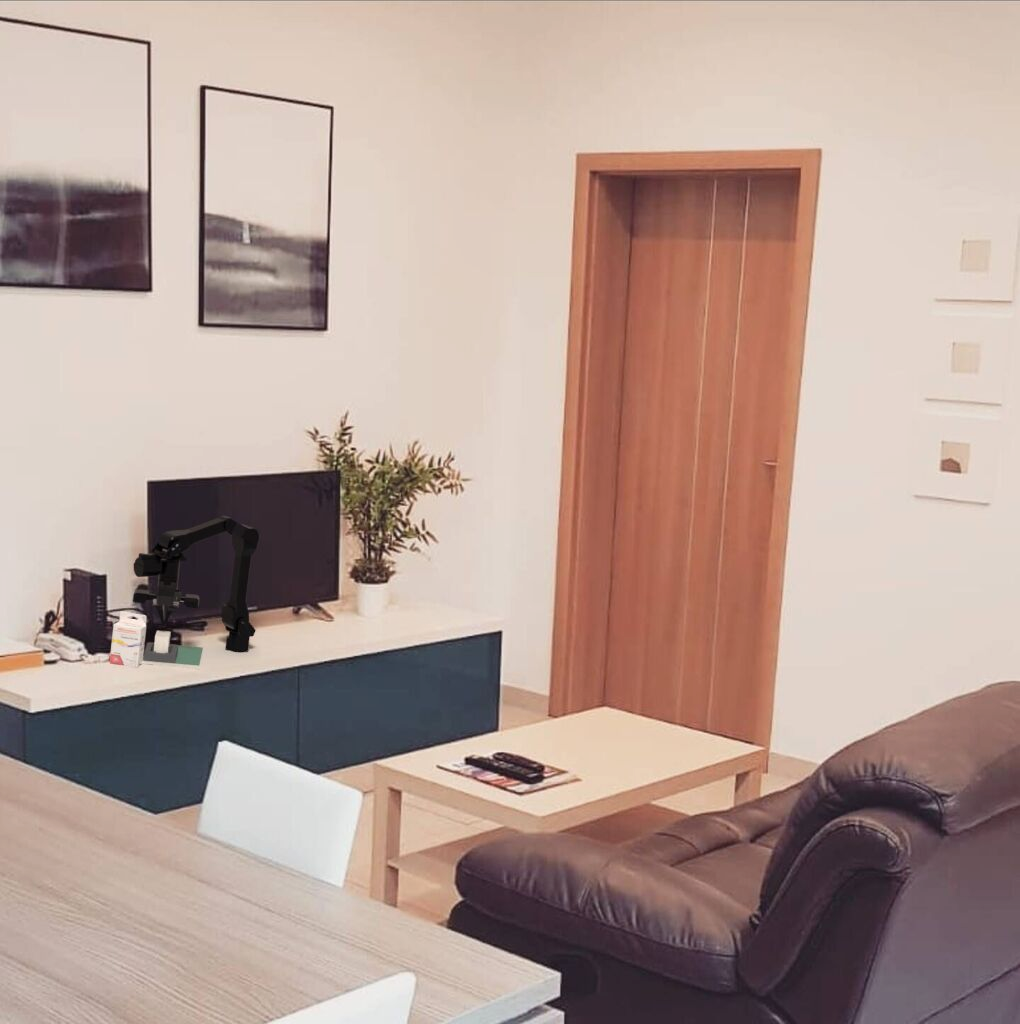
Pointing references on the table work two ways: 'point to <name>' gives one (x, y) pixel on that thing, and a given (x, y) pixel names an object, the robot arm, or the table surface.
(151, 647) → the board
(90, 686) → the table surface
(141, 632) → the ink cartridge box
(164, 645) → the plug
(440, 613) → the table surface
